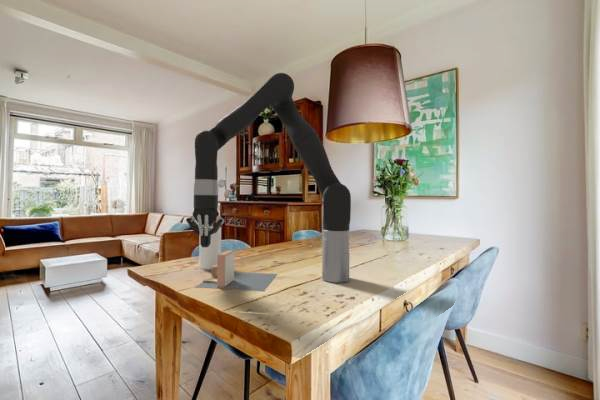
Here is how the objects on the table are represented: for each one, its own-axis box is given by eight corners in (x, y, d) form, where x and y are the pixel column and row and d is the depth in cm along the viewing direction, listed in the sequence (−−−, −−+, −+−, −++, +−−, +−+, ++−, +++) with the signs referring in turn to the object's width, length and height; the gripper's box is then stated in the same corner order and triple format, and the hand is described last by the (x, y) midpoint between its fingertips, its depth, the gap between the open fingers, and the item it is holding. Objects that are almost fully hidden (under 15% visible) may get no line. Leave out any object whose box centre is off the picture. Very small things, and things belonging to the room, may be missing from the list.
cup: (217, 270, 108) (217, 228, 108) (196, 269, 108) (196, 228, 108) (223, 265, 116) (223, 226, 116) (203, 264, 116) (204, 226, 116)
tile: (234, 280, 94) (234, 250, 94) (224, 287, 86) (225, 255, 86) (227, 279, 94) (227, 250, 94) (217, 287, 86) (217, 255, 86)
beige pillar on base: (233, 271, 105) (234, 260, 105) (217, 283, 91) (217, 270, 91) (221, 270, 106) (221, 260, 106) (202, 282, 91) (202, 270, 91)
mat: (277, 274, 102) (277, 274, 102) (263, 292, 83) (263, 291, 83) (220, 272, 105) (220, 271, 105) (194, 288, 86) (194, 287, 86)
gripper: (229, 194, 94) (229, 245, 94) (193, 193, 96) (192, 244, 96) (220, 194, 86) (219, 250, 87) (180, 193, 88) (180, 248, 88)
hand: (205, 246), depth 91 cm, fingers closed
